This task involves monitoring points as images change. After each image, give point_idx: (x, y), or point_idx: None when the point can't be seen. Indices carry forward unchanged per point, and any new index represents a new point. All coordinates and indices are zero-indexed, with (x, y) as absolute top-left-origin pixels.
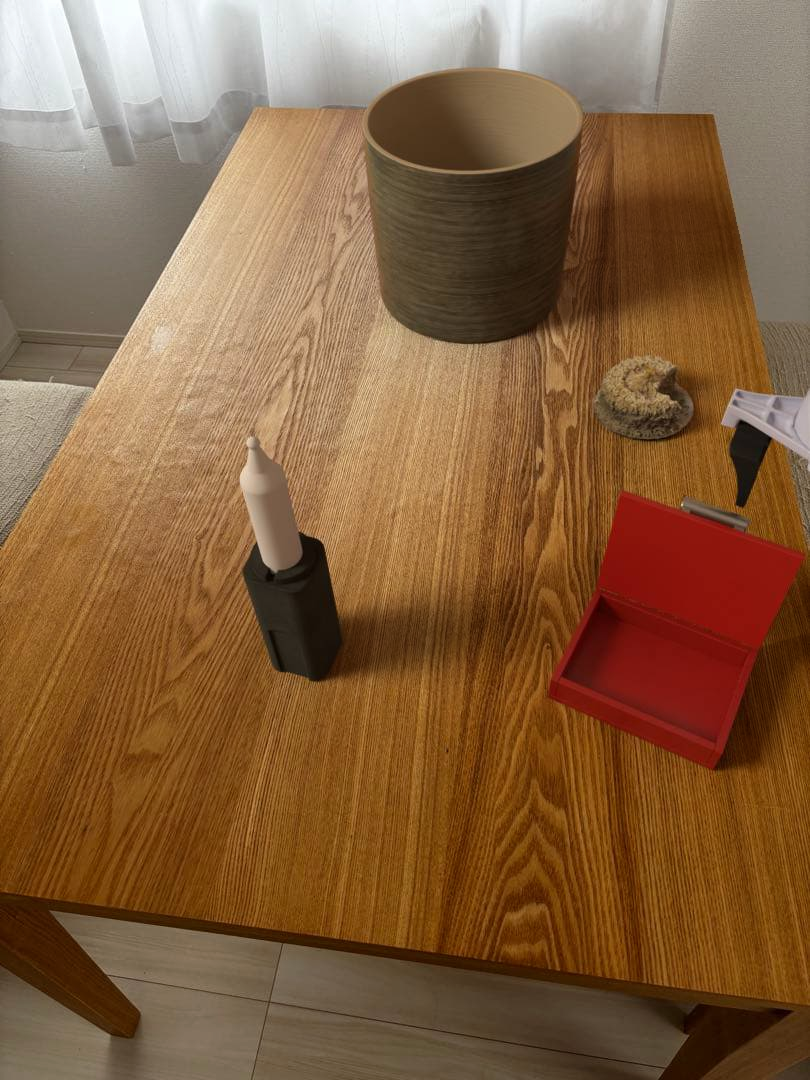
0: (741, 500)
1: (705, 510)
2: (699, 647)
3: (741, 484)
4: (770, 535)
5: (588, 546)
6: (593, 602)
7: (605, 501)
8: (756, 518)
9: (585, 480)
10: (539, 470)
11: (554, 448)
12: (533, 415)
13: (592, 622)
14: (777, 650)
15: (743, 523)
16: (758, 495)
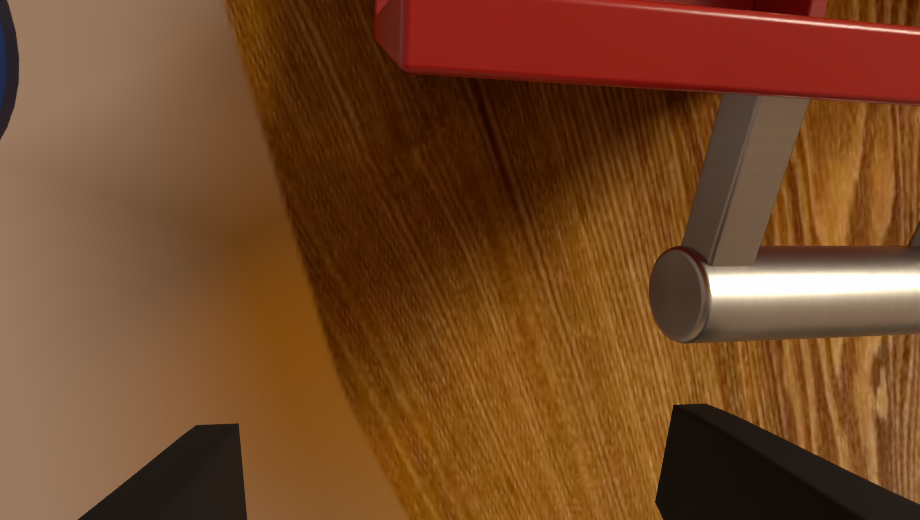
0: (736, 426)
1: (905, 285)
2: None
3: (896, 502)
4: (423, 431)
5: (770, 231)
6: (818, 6)
7: (751, 357)
8: (460, 458)
9: (794, 386)
10: (878, 368)
11: (855, 429)
12: (897, 480)
13: (752, 8)
14: (324, 133)
15: (728, 289)
16: (470, 511)
